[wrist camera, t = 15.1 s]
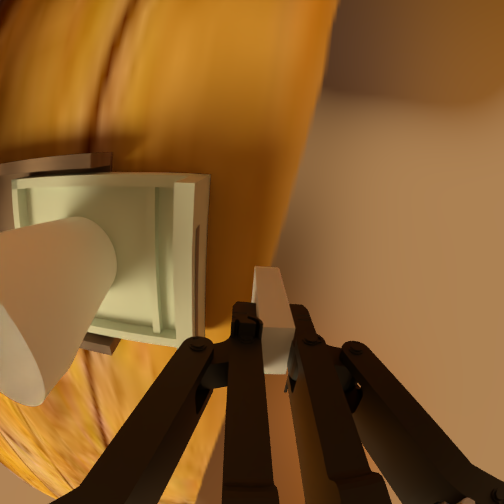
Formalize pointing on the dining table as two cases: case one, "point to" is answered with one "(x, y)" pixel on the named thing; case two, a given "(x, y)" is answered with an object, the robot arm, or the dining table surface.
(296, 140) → the dining table surface
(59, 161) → the dock
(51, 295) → the cup
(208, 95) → the dining table surface
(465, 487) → the robot arm
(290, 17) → the dining table surface
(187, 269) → the tray
